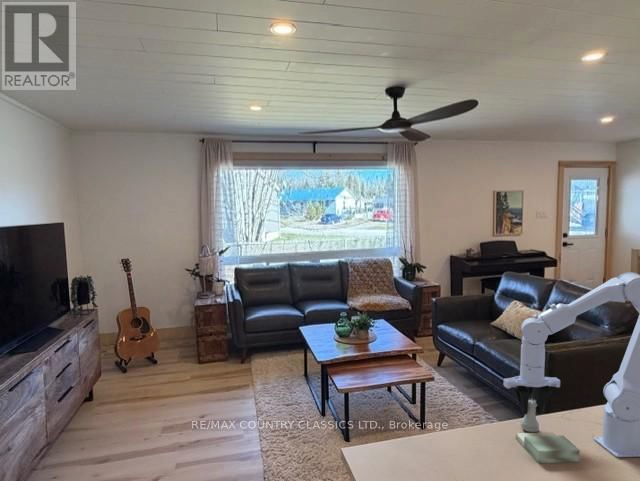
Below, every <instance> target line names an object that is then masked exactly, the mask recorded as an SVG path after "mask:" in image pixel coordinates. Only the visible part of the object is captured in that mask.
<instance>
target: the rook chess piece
mask: <svg viewBox="0 0 640 481" xmlns="http://www.w3.org/2000/svg"><path fill="white" fill-rule="evenodd" d="M537 406H538V404H537V403H536V400H534V398H530V397H529V401H528V412H527V414H524V417H522V419H521V424H520V427H521V428H522V429H523V430H524V431H526V432H527V433H538V431H540V427H539V426H540V424H539V422H538V420H537V416H536V415H537V414H536V413H537V412H536V411H537V410H536V407H537Z"/></svg>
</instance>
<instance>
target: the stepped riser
mask: <svg viewBox="0 0 640 481" xmlns="http://www.w3.org/2000/svg"><path fill="white" fill-rule="evenodd" d="M515 440H516V441H517V442H518V443H519V445H521V446H522V447H523V449H524V451H526V452H527V453H528V454H529V455H530V456H531V458H533V459H534V460H535V462H536V463H537V464H545V463H546V464H552V463H580V452H581V451H580V449H579V447H577V446H576V445H575V444H573V443H572V442H571V441H570V440H569V439H568V438H567V437H566V436H565V435H557V434H556V433H554V432H521V433H520V432H518V433H517V432H516V433H515Z"/></svg>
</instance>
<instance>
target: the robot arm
mask: <svg viewBox="0 0 640 481" xmlns="http://www.w3.org/2000/svg"><path fill="white" fill-rule="evenodd" d="M625 299H627V300H628V301H629V302H631V305H632V306H633V307H634V308H635V310H636V311H637V312H638V314H639V315H638V318H637V321H636V324H635V326H634V329H633V332H632V334H631V337H630V339H629V342H628V345H627V347H626V349H625V350H626V351H625V353H624V356H623V358H622V361H621V363H620V366H619V369H618V371H617V372H616V373H614V374H613V375H612V378H611V380H610V381H609V382H607V383H606V384H605V385H604V386H603V391H602V392H603V396H604V397H605V399H606V400H607V402H606V404H605V406H604V407H603V422H602V436H594V437H593V440H594V441H595V442H597V443H598V444H599V445H601V446H602V447H603V448H605V449H606V451H608V452H609V453H610V454H611V455H613V456H614V457H616V458H636V457H637V458H639V457H640V274H639V273H637V272H634V271H633V272H632V271H628V272H627V271H626V272H624V273H622V274H619V276H617V277H611V278H610V279H609V280H607V281H606V282H605V281H604V283H602V284H600V285H599V286H597V287H596V288H594V289H592V290H590V291H588V292H587V293H585V294H583V295H582V296H579V297H578V298H577V299H575V300H573V301H571V302H570V303H569V304H567V303H566V304H565V303H558V304H556V303H552V304H550V305H549V307H550V308H548V309H547V310H545V311H543V312H541V313H535V314H533V315H532V317H528V318H526V319H524V320H523V321H522V323H521V325H520V330H521V331H520V332H521V334H522V338H521V345H520V365H519V366H520V367H519V368H520V372H519V375H517V376H513V377H508V378H503V386H504V387H505V388H506V389H511V388H512V389H513V391H514V393H515V395H516V397H517V400H518V405H519V408H520V412H522V414H523V415H525V414H527V412H528V401H529V398H530V396H531V394H532V393H531V392H529V390H528V388H532V392H533V401H534V400H536V403H537V404H538V406H537V407H536V410H537V411H536V413H537V415H541V413H542V410H543V408H544V406H545V403H546V401H547V400H548V399H549V397H550V396H551V395H552V390H551V389H550V387H555V388H560V387H561V380H560V379H559V378H557V377H556V376H555V377H550V376H545V362H546V348H545V342H546V341H547V339H548V336H549V335H550V336H551V335H553V334H555V333H557V332H559V331H561V330H563V329H565V328H567V327H570V326H572V325H573V324H575V322H576V319H577V317H578V316H579V315H581V314H583V313H585V312H588V311H590V310H592V309H595V308H596V307H598V306H601V305H603V304H605V303H607V302H616V303H626V300H625Z"/></svg>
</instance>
